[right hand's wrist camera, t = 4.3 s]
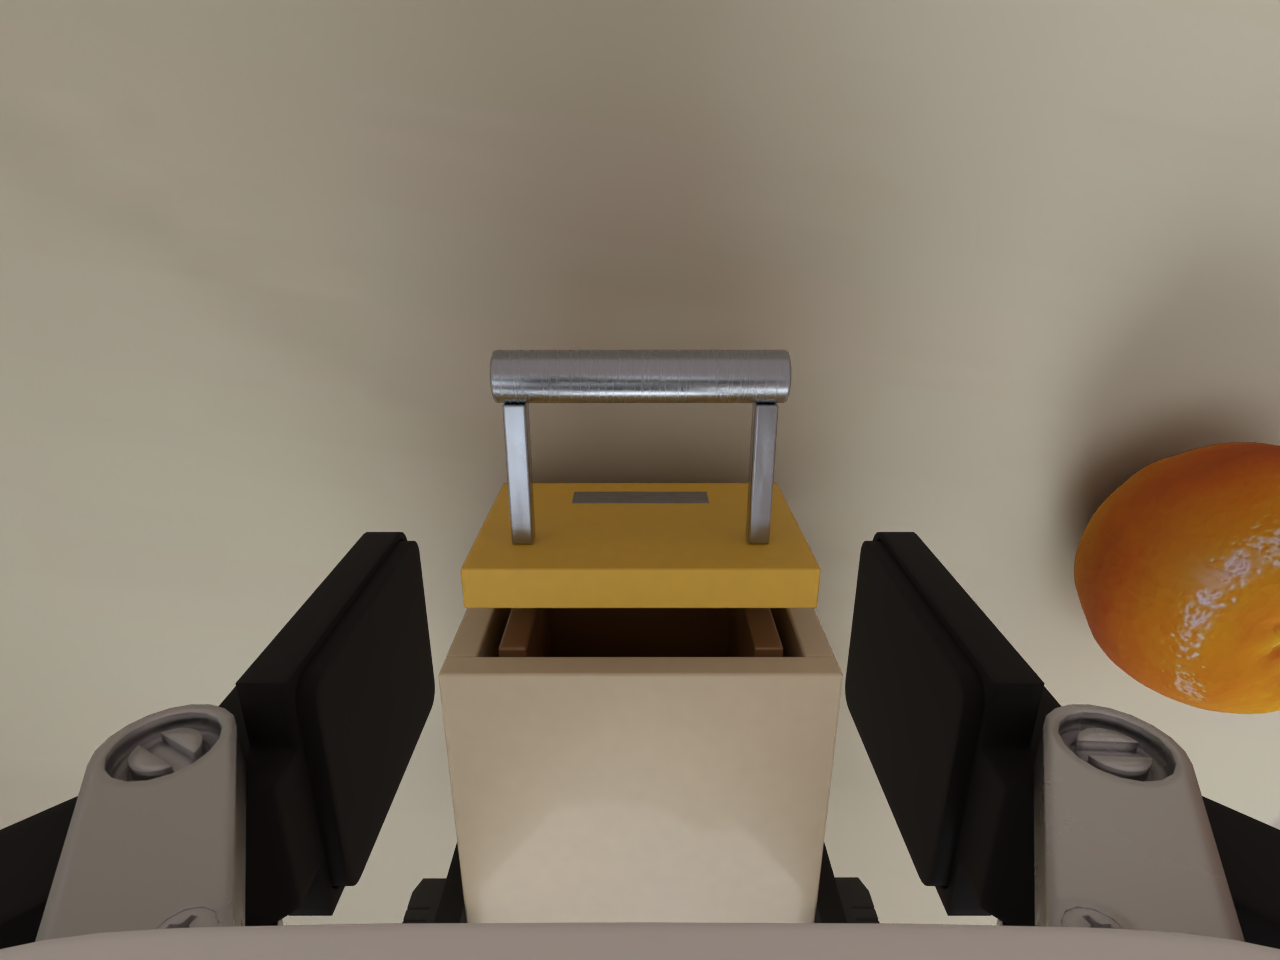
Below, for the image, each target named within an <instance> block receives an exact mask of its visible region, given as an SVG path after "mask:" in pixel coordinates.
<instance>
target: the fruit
mask: <svg viewBox="0 0 1280 960" xmlns="http://www.w3.org/2000/svg"><path fill="white" fill-rule="evenodd" d="M1074 577H1075V585H1076V588H1077V592H1078V595H1079V599H1080V602H1081V605H1082V608H1083V611H1084V613H1085V616H1086V619H1087V622H1088V625H1089V627H1090V629H1091V632H1092V634H1093V636H1094V638H1095V640H1096V641H1097V643H1098V644H1099V646H1100V647H1101V649H1102V650H1103V651H1104V652H1105V653H1106V655H1107V656H1108V657H1109V658H1110V659H1111V660H1112V661H1113V662H1114V663H1115V664H1116V665H1117V666H1118V667H1120V668H1121V669H1122V670H1123V671H1124V672H1126V673H1127V674H1128V675H1130V676H1131V677H1132V678H1134V679H1135V680H1137V681H1138V682H1140V683H1141V684H1143V685H1145V686H1146V687H1148V688H1150V689H1152V690H1154V691H1156V692H1158V693H1160V694H1162V695H1164V696H1166V697H1169V698H1171V699H1174V700H1176V701H1179V702H1182V703H1185V704H1188V705H1191V706H1194V707H1197V708H1201V709H1206V710H1211V711H1218V712H1227V713H1238V714H1258V713H1268V712H1274V711H1279V710H1280V446H1276V445H1270V444H1263V443H1254V442H1251V443H1222V444H1214V445H1209V446H1205V447H1201V448H1196V449H1193V450H1190V451H1186V452H1183V453H1180V454H1177V455H1174V456H1171V457H1166V458H1163V459H1161V460H1158V461H1156V462H1154V463H1151V464H1149V465H1147V466H1146V467H1144V468H1142V469H1141V470H1139V471H1138V472H1136V473H1135V474H1134V475H1132V476H1131V477H1130V478H1129V479H1128V480H1127V481H1125V482H1124V483H1123V484H1122V485H1121V486H1120V487H1119V488H1117V489H1116V490H1115V491H1113V492H1112V493H1111V494H1110V495H1109V497H1108V498H1107V499H1106V500H1105V501H1104V502H1103V503H1102V504H1101V505H1100V506H1099V507H1098V509H1097V510H1096V512H1095V513H1094V515H1093V516H1092V518H1091V519H1090V521H1089V523H1088V525H1087V527H1086V528H1085V530H1084V532H1083V535H1082V537H1081V540H1080V543H1079V545H1078V548H1077V552H1076V556H1075V564H1074Z"/></svg>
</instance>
